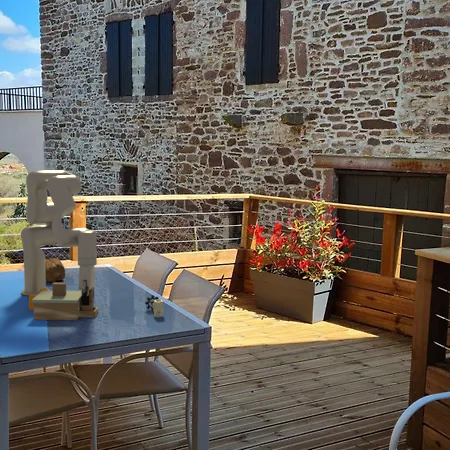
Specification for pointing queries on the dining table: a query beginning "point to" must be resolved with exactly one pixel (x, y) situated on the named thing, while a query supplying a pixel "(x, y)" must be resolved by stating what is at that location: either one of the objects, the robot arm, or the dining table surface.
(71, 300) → the lid
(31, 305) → the pipe clamp
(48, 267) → the petrified wood
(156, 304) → the valve
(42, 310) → the toolbox
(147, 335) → the dining table surface
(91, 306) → the brown rectangular block
